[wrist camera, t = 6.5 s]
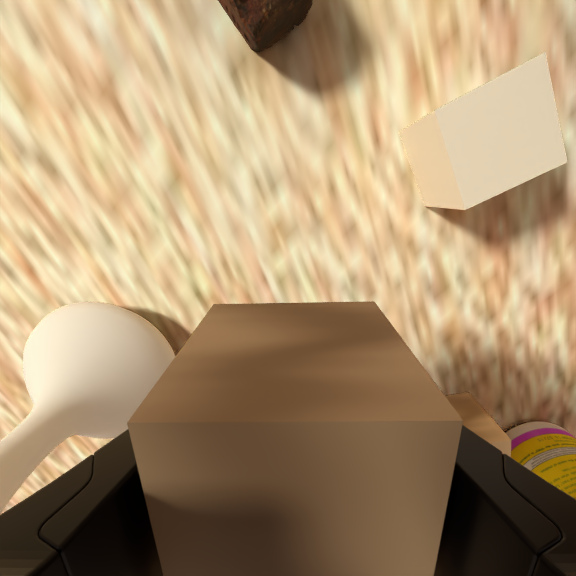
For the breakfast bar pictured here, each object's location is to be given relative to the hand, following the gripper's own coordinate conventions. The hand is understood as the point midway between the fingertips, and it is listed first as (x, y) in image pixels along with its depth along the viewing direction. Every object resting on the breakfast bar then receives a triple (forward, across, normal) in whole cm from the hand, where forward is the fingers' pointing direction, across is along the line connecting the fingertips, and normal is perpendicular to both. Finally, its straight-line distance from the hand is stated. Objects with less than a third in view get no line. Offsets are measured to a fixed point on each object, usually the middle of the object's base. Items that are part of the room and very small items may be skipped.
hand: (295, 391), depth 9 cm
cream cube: (+13, -10, -8) cm, 18 cm away
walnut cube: (+1, 0, 0) cm, 1 cm away
